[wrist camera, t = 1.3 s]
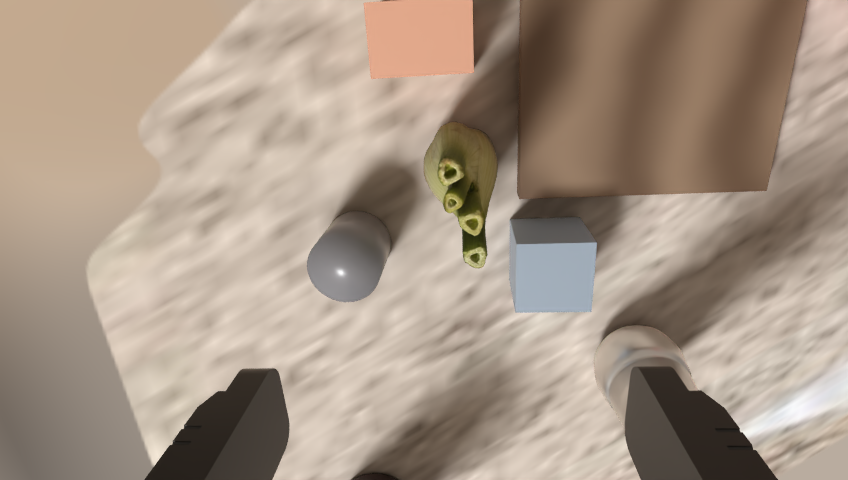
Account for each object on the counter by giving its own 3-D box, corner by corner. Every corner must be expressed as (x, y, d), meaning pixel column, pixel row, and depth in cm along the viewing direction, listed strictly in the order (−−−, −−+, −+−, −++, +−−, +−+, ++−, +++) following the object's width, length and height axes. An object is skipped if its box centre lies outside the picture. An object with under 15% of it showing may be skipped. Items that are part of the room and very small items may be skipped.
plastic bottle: (682, 321, 37) (905, 597, 18) (654, 390, 39) (824, 694, 21) (599, 308, 37) (736, 567, 18) (577, 377, 39) (677, 668, 21)
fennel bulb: (486, 205, 34) (496, 278, 23) (420, 193, 35) (398, 260, 23) (503, 125, 32) (523, 164, 21) (432, 113, 32) (415, 145, 21)
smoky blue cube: (579, 216, 34) (597, 242, 30) (575, 278, 36) (591, 311, 32) (509, 218, 35) (516, 244, 30) (509, 279, 37) (515, 312, 32)
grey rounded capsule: (388, 210, 35) (376, 233, 31) (393, 270, 37) (383, 301, 32) (323, 211, 36) (302, 235, 31) (331, 271, 38) (312, 302, 33)
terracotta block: (471, 2, 30) (472, -6, 26) (472, 69, 31) (473, 72, 27) (377, 9, 30) (363, 2, 26) (383, 75, 32) (370, 78, 28)
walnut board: (797, -32, 28) (815, -36, 26) (753, 184, 32) (766, 190, 31) (519, -11, 29) (522, -14, 28) (517, 192, 34) (519, 198, 33)
